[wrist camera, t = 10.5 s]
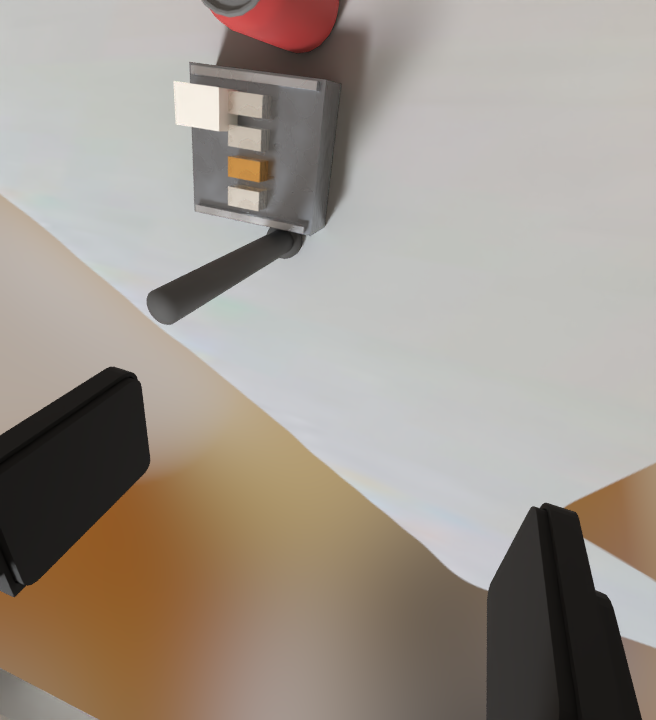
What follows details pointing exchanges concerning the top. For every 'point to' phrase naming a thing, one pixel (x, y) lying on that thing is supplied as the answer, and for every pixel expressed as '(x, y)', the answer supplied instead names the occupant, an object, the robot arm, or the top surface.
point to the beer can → (279, 20)
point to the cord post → (219, 275)
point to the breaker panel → (285, 156)
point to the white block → (202, 106)
